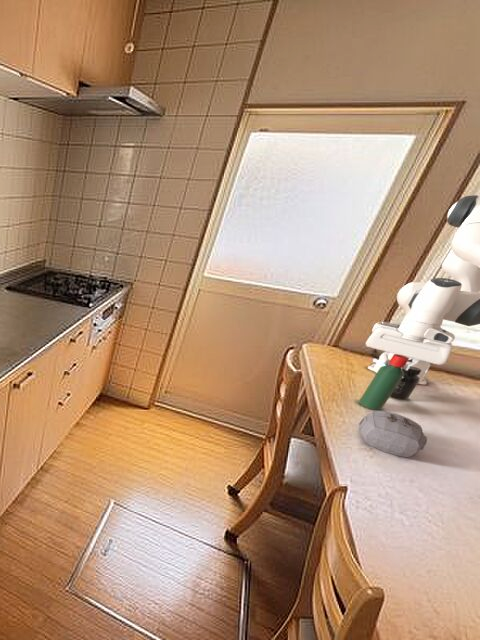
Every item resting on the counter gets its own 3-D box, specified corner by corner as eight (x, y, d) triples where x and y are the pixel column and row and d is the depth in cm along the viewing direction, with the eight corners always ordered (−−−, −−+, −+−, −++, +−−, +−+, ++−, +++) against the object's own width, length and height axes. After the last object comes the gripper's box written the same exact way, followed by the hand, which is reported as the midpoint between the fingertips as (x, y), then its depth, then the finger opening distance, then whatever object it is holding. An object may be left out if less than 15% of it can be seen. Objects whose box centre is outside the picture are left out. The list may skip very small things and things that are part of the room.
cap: (402, 368, 141) (408, 359, 139) (387, 364, 144) (393, 355, 142) (404, 366, 143) (409, 357, 142) (389, 361, 146) (394, 353, 144)
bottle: (356, 403, 151) (386, 356, 142) (360, 399, 155) (390, 352, 146) (379, 412, 147) (411, 363, 138) (382, 407, 151) (414, 359, 142)
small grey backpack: (419, 464, 119) (415, 437, 133) (436, 440, 115) (430, 415, 129) (352, 441, 128) (355, 418, 142) (366, 418, 124) (368, 397, 138)
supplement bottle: (412, 401, 157) (430, 373, 151) (391, 398, 158) (409, 370, 152) (399, 393, 163) (416, 365, 157) (379, 390, 164) (396, 362, 158)
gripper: (375, 321, 142) (355, 358, 148) (460, 340, 129) (434, 380, 135) (378, 318, 146) (358, 354, 152) (461, 336, 133) (435, 375, 139)
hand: (395, 367), depth 144 cm, fingers closed on cap, 4 cm apart
